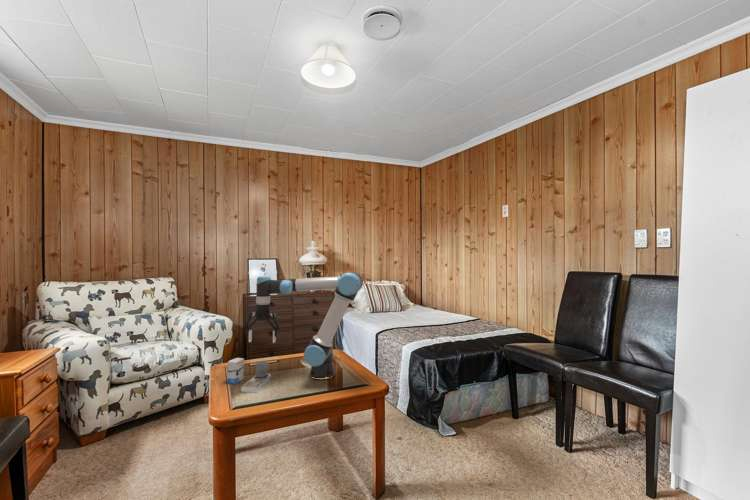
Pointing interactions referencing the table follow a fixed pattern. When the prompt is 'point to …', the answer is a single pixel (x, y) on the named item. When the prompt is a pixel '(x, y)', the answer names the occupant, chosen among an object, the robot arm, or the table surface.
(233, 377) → the ink box
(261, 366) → the grey rectangular block
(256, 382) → the white piece
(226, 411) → the table surface
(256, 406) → the table surface
